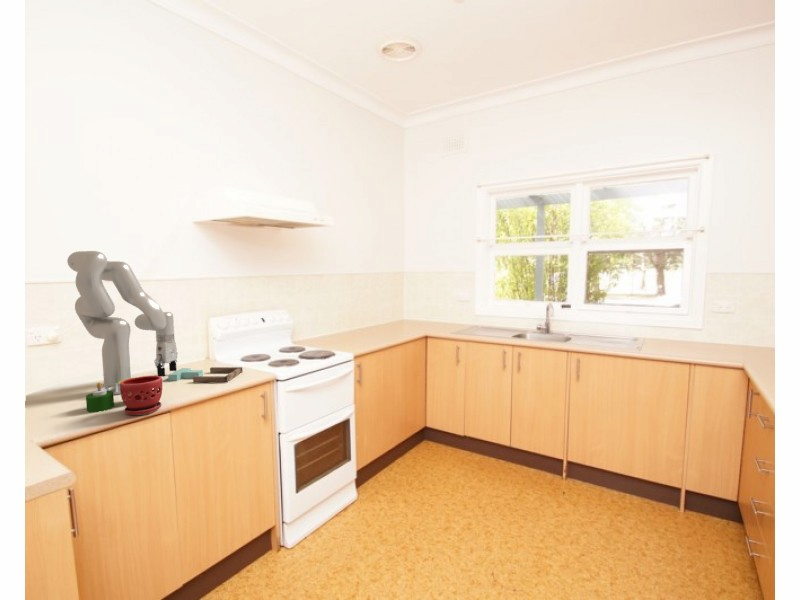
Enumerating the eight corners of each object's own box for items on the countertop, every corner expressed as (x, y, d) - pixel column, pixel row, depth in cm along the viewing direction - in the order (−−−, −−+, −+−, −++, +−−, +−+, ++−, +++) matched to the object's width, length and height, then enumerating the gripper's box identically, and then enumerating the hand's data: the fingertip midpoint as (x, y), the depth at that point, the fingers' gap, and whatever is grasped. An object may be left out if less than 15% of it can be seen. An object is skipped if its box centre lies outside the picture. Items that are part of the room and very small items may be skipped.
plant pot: (171, 407, 154) (170, 376, 153) (138, 419, 142) (136, 386, 141) (147, 403, 159) (146, 373, 158) (113, 414, 147) (111, 382, 146)
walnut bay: (227, 382, 186) (226, 377, 186) (193, 382, 186) (193, 377, 186) (242, 372, 204) (242, 367, 204) (211, 372, 204) (211, 367, 204)
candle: (101, 412, 149) (100, 385, 148) (81, 412, 150) (79, 385, 149) (119, 404, 157) (117, 379, 156) (99, 404, 158) (97, 379, 157)
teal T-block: (194, 380, 189) (194, 374, 189) (168, 381, 189) (168, 374, 189) (206, 374, 201) (206, 368, 201) (182, 374, 201) (182, 368, 201)
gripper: (162, 341, 185) (164, 378, 186) (182, 335, 202) (184, 368, 204) (146, 341, 185) (148, 378, 187) (167, 335, 202) (169, 368, 204)
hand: (167, 373), depth 195 cm, fingers open, 9 cm apart
